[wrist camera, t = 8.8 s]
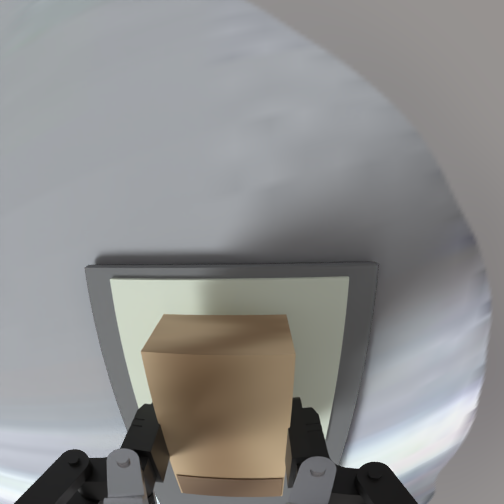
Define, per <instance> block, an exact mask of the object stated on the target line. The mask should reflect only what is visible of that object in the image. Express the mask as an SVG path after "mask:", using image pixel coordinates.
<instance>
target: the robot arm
mask: <svg viewBox="0 0 504 504" xmlns="http://www.w3.org/2000/svg"><path fill="white" fill-rule="evenodd" d="M169 459H170V455H169V452H168V449H167V445H166V442H165V439H164V435H163V432H162V429H161V425H160V424H158V420H157V417H156V413H155V410H154V406H153V402H152V403H151V404H144V405H142V406H141V407H140V408H139V409H138V410H137V412H136V414H135V416H134V419H133V421H132V423H131V426H130V428H129V430H128V432H127V434H126V437H125V439H124V441H123V444H122V446H121V448H120V449H117V450H114V451H113V452H111V453H110V454H109V455H108V457H105V458H88V456H87V454H86V453H85V452H83V451H81V450H76V449H73V450H68V451H66V452H64V453H63V454H62V455H61V456H60V457H59V458H58V459H57V460H56V461H55V462H54V463H53V464H52V465H51V466H50V467H49V468H48V469H47V471H46V472H45V473H44V474H43V475H42V476H41V477H40V478H39V479H38V480H37V481H36V482H35V483H34V484H33V485H32V486H31V487H30V488H29V489H28V490H27V491H26V492H25V493H24V494H23V495H22V496H21V497H20V498H19V499H18V500H17V501H16V502H15V503H14V504H157V501H156V496H155V491H154V485H155V482H161V483H163V482H164V478H165V474H166V470H167V467H168V463H169ZM285 466H286V476H287V486H288V488H292V490H291V493H290V496H289V498H288V501H287V503H286V504H418V503H417V502H416V501H415V499H414V498H413V497H412V496H411V494H410V493H409V492H408V491H407V489H406V488H405V487H404V486H403V484H402V483H401V482H400V481H399V479H398V478H397V477H396V475H395V474H394V473H393V472H392V470H391V469H390V468H389V467H388V466H387V465H385V464H383V463H380V462H370V463H366V464H364V465H363V466H361V467H360V469H354V468H345V467H341V466H339V465H337V464H335V463H334V462H333V461H332V460H331V459H330V457H329V454H328V450H327V446H326V442H325V438H324V434H323V431H322V426H321V422H320V418H319V414H318V413H317V412H316V411H315V410H314V409H313V408H312V407H307V408H302V403H301V399H300V397H293V398H292V410H291V422H290V428H288V434H287V445H286V455H285Z"/></svg>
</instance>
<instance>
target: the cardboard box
mask: <svg viewBox="0 0 504 504" xmlns="http://www.w3.org/2000/svg"><path fill="white" fill-rule="evenodd" d="M141 355H142V360H143V365H144V369H145V374H146V378H147V382H148V386H149V390H150V394H151V398H152V402H153V406H154V410H155V413H156V417H157V420H158V424H160V425H161V429H162V432H163V435H164V439H165V442H166V445H167V449H168V452H169V455H170V462H171V465H172V468H173V471H174V474H175V477H176V479H177V482H178V485H179V488H180V490H181V493H186V494H195V495H207V496H224V497H276V496H282V495H283V487H284V479H285V470H286V466H285V455H286V445H287V434H288V428H290V422H291V410H292V398H293V386H294V372H295V357H296V354H295V349H294V345H293V341H292V336H291V332H290V328H289V323H288V319H287V315H286V314H280V315H180V314H163V316H162V318H161V319H160V321H159V322H158V324H157V326H156V327H155V329H154V331H153V332H152V334H151V335H150V337H149V339H148V340H147V342H146V344H145V345H144V347H143V349H142V350H141Z"/></svg>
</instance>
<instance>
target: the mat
mask: <svg viewBox="0 0 504 504" xmlns="http://www.w3.org/2000/svg"><path fill="white" fill-rule="evenodd" d="M378 268H379V265H378V264H377V263H376V262H350V263H299V264H226V265H88V266H87V267H85V274H86V280H87V286H88V292H89V297H90V302H91V307H92V312H93V317H94V322H95V326H96V330H97V335H98V339H99V343H100V347H101V351H102V355H103V358H104V362H105V365H106V369H107V372H108V376H109V379H110V382H111V386H112V389H113V392H114V395H115V398H116V401H117V404H118V407H119V410H120V413H121V415H122V418H123V421H124V424H125V426H126V429H127V432H128V430H129V428H130V426H131V423H132V421H133V419H134V416H135V414H136V412H137V410H138V409H139V408H140V407H141V406H142V405H144V404H151V403H152V398H151V394H150V390H149V386H148V382H147V378H146V374H145V369H144V365H143V360H142V355H141V350H142V349H143V347H144V345H145V344H146V342H147V340H148V339H149V337H150V335H151V334H152V332H153V331H154V329H155V327H156V326H157V324H158V322H159V321H160V319H161V318H162V316H163V314H180V315H280V314H286V315H287V319H288V323H289V328H290V332H291V336H292V341H293V345H294V349H295V354H296V357H295V372H294V386H293V397H300V399H301V403H302V408H307V407H312V408H313V409H314V410H315V411H316V412H317V413H318V414H319V418H320V422H321V426H322V431H323V434H324V438H325V442H326V446H327V450H328V454H329V457H330V459H331V460H332V461H333V462H334V463H335V464H337V465H339V463H340V460H341V457H342V453H343V450H344V447H345V443H346V440H347V436H348V432H349V429H350V425H351V421H352V417H353V414H354V410H355V405H356V401H357V397H358V393H359V388H360V384H361V379H362V374H363V369H364V364H365V359H366V354H367V348H368V343H369V337H370V331H371V324H372V318H373V311H374V303H375V295H376V287H377V278H378ZM291 490H292V488H288V486H287V476H286V470H285V479H284V487H283V495H282V496H276V497H224V496H207V495H195V494H186V493H181V490H180V488H179V485H178V482H177V479H176V477H175V474H174V471H173V468H172V465H171V462H170V459H169V463H168V467H167V470H166V474H165V478H164V482H163V483H161V482H155V485H154V491H155V495H156V496H157V498H158V500H159V502H160V504H286V503H287V501H288V498H289V496H290V493H291Z"/></svg>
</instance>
